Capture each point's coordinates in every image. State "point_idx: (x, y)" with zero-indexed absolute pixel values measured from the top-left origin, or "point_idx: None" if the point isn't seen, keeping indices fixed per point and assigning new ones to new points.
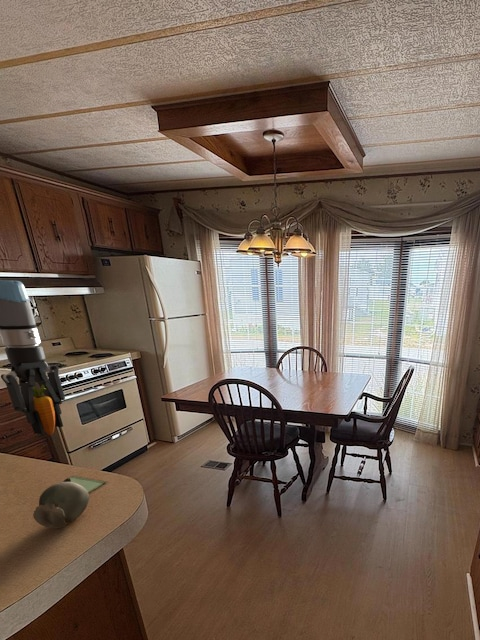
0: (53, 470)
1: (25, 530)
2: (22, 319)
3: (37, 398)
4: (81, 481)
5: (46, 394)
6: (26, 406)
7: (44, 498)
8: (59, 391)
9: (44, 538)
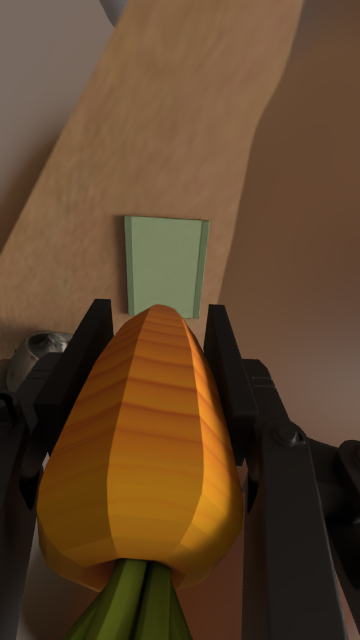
0: (243, 106)
1: (11, 302)
2: None
3: (83, 585)
4: (189, 267)
5: (259, 564)
6: (2, 466)
7: (8, 385)
8: (357, 615)
9: (17, 347)
